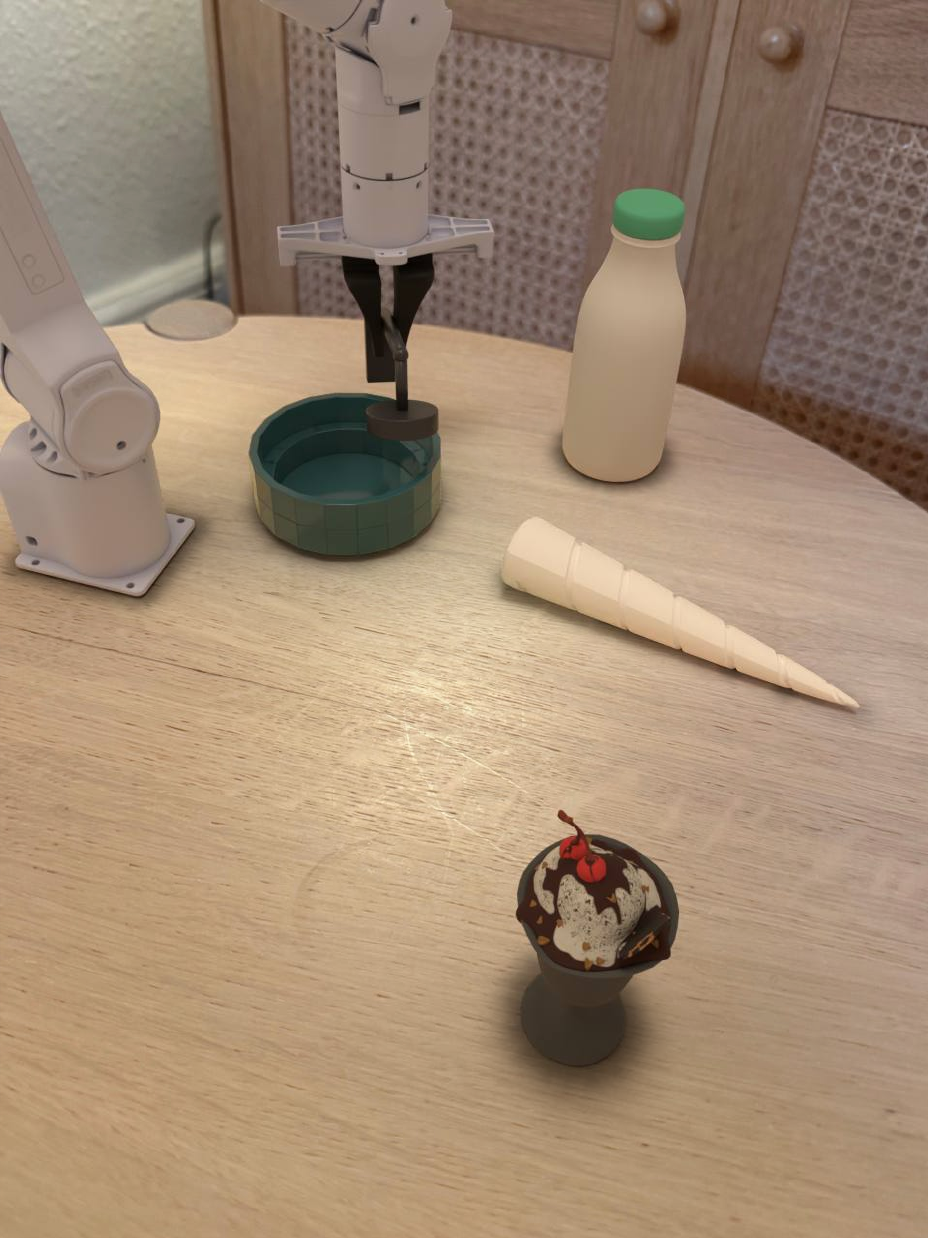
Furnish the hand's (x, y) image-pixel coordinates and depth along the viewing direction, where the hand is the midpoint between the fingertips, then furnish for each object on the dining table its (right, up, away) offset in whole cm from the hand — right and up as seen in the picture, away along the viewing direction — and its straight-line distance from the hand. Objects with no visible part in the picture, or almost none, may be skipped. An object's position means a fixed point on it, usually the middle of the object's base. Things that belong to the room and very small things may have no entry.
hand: (388, 349), depth 79 cm
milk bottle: (+17, -7, +4) cm, 19 cm away
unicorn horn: (+18, -21, -9) cm, 29 cm away
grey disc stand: (+1, -5, -3) cm, 6 cm away
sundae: (+11, -39, -28) cm, 49 cm away
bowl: (-3, -11, -1) cm, 12 cm away
